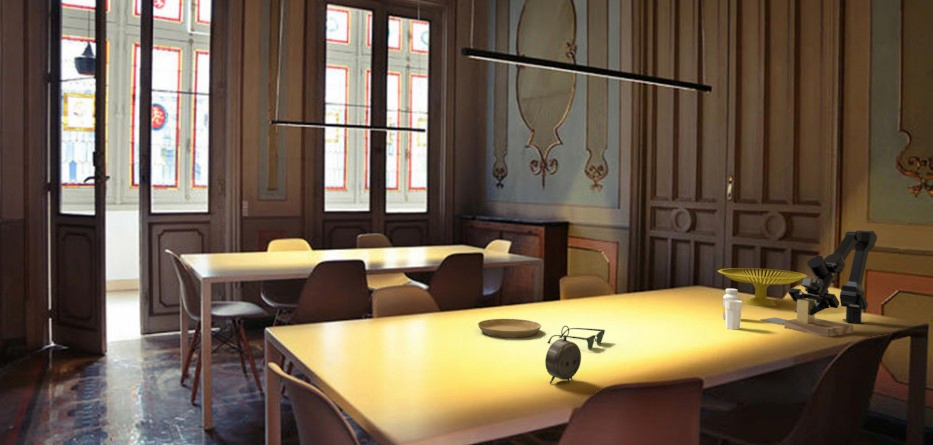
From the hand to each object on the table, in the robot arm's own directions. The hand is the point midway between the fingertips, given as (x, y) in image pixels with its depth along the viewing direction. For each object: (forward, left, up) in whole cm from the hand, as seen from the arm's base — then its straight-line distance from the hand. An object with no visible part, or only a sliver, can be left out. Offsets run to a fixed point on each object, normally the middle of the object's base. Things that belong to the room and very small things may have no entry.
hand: (803, 313), depth 265 cm
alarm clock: (+94, -89, -7) cm, 130 cm away
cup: (+3, -27, -7) cm, 28 cm away
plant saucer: (+32, -113, -7) cm, 118 cm away
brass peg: (-1, +1, -7) cm, 7 cm away
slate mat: (-16, -5, -7) cm, 18 cm away
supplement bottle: (-17, -24, -7) cm, 30 cm away
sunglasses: (+45, -88, -7) cm, 99 cm away
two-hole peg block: (-1, +6, -7) cm, 9 cm away
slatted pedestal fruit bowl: (-63, -2, -7) cm, 63 cm away
